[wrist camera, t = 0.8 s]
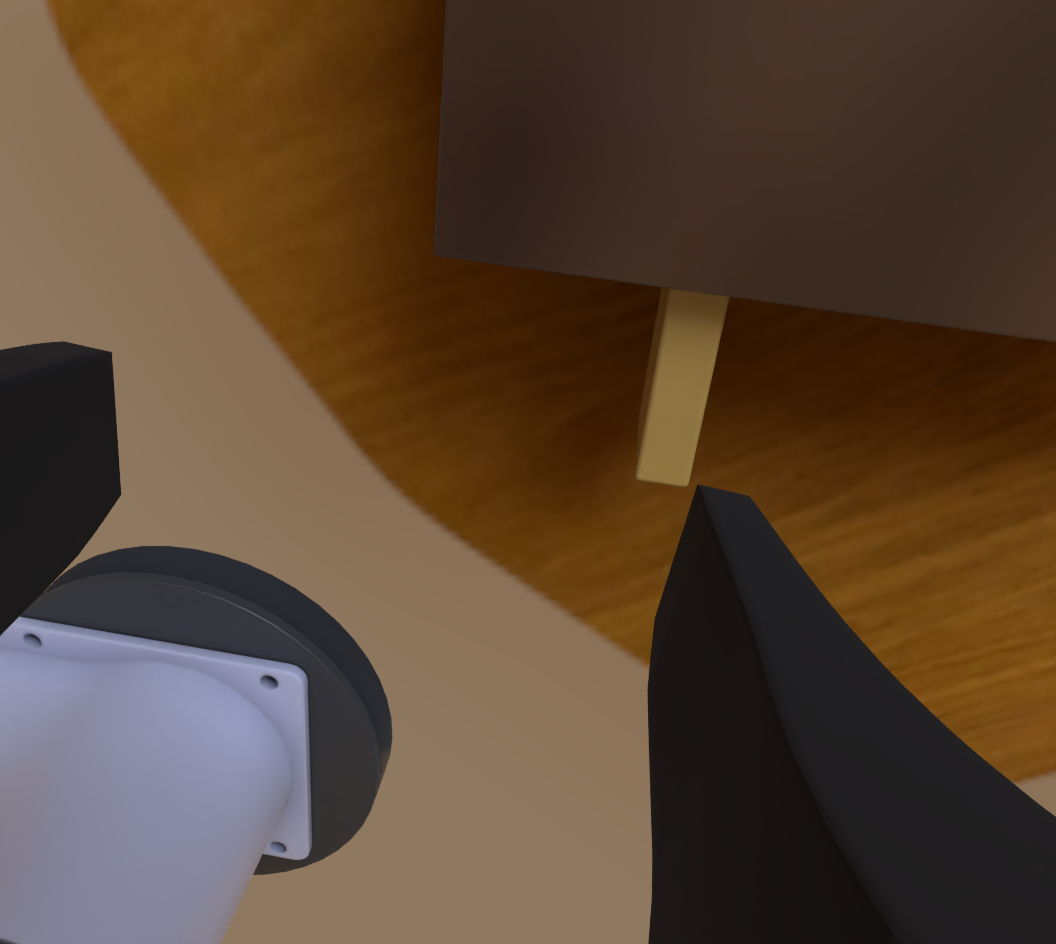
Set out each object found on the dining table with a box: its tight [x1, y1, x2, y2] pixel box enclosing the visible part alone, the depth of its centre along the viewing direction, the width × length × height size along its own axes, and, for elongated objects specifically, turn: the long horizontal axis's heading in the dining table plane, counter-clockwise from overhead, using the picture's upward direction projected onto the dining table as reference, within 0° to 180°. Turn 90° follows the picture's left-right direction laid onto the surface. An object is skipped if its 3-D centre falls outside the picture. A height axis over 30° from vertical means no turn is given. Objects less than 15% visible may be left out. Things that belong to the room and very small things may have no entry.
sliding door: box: [635, 288, 729, 487], centre depth 17 cm, size 7×5×4 cm
